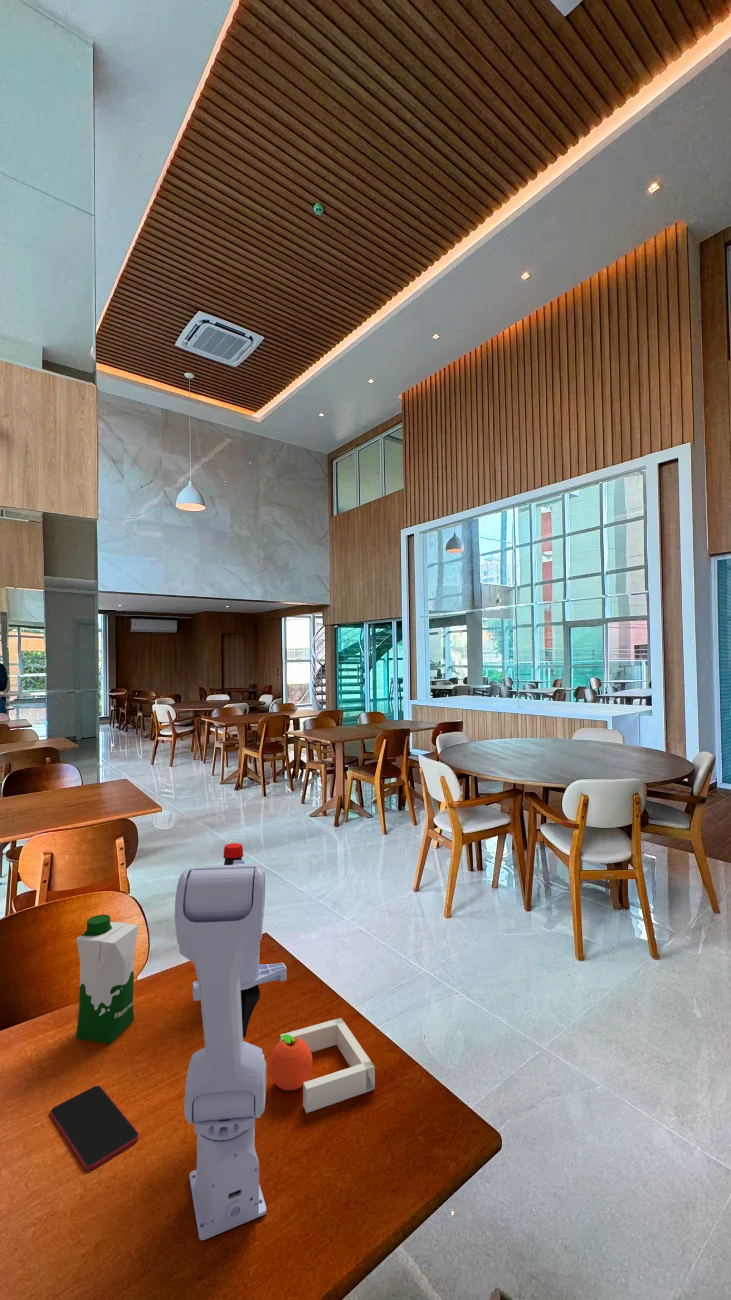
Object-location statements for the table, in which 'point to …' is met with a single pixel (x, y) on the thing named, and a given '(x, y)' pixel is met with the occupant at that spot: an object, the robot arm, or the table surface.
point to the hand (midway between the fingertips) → (240, 1035)
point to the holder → (342, 1081)
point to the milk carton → (106, 979)
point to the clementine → (290, 1063)
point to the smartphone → (94, 1127)
